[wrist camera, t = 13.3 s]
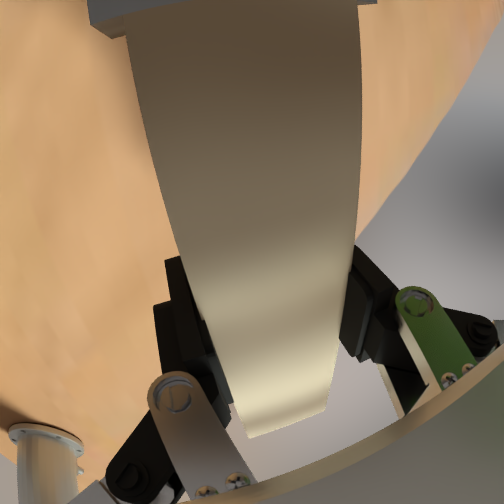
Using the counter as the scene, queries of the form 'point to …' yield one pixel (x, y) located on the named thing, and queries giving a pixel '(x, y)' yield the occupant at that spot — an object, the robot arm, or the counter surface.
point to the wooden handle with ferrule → (256, 178)
